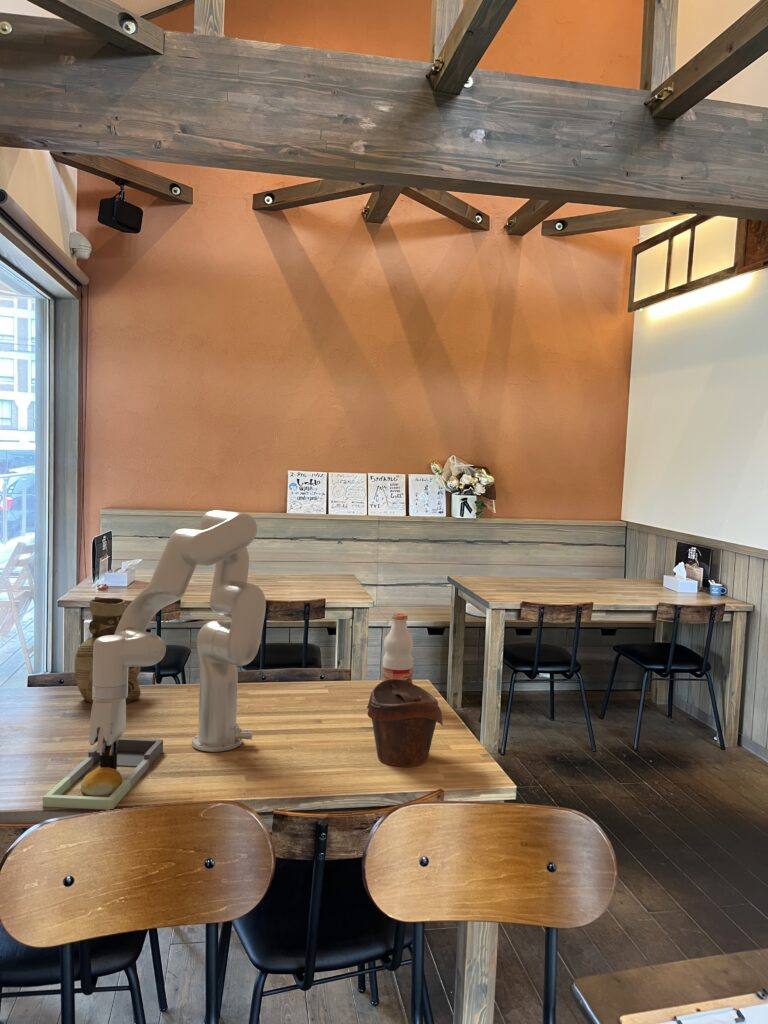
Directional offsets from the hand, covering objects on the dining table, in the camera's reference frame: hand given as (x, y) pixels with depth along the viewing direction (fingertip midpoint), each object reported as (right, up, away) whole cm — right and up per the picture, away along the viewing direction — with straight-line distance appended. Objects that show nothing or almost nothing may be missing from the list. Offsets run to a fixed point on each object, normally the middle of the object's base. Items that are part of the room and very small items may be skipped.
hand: (108, 770), depth 167 cm
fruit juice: (+66, -1, +60) cm, 90 cm away
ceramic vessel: (-21, +2, +55) cm, 59 cm away
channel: (0, -1, 0) cm, 1 cm away
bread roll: (+1, -2, -6) cm, 6 cm away
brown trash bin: (+67, -3, +17) cm, 70 cm away
